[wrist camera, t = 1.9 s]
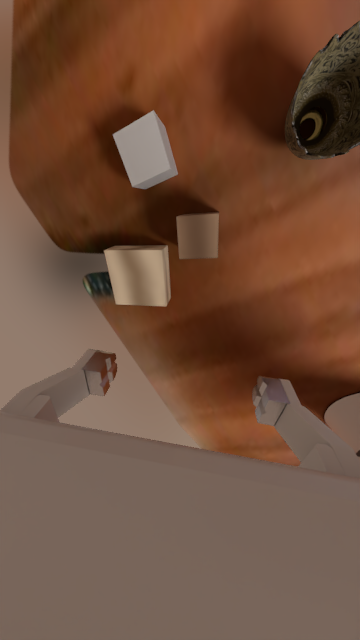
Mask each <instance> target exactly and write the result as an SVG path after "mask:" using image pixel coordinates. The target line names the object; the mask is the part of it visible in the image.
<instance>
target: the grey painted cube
mask: <svg viewBox="0 0 360 640" xmlns="http://www.w3.org/2000/svg"><path fill="white" fill-rule="evenodd" d="M113 137H114V140H115V142H116V145H117V148H118V150H119V153H120V155H121V158H122V161H123V163H124V166H125V169H126V171H127V174H128V177H129V179H130V182H131V185H132V187H135V188H140V189H148V188H150V187H152V186H154V185H156V184H158V183H161V182H163V181H165V180H167V179H169V178H171V177H174V176H176V175H178V172H177V168H176V165H175V161H174V158H173V154H172V150H171V147H170V143H169V140H168V136H167V133H166V129H165V126H164V125H163V123H162V122H161V120H160V119H159V117H158V116H157V115H156V113H155V112H154V110H153V111H151V112H150V113H148V114H146V115H145V116H143V117H141V118H140V119H138V120H136V121H135V122H133V123H131V124H130V125H128V126H126V127H124V128H123V129H121V130H119V131H118V132H116V133H114V134H113Z"/></svg>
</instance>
